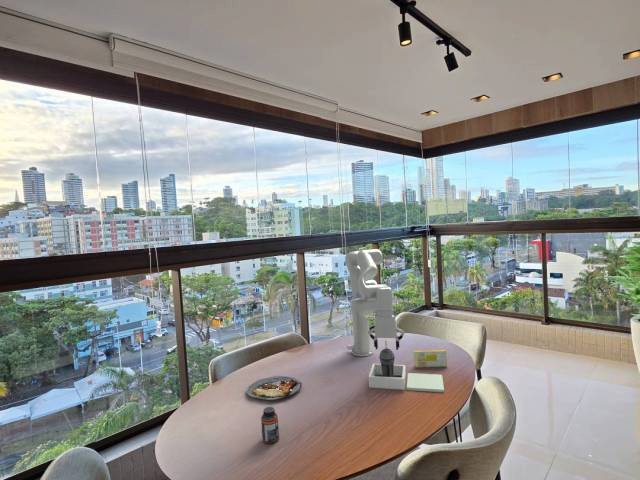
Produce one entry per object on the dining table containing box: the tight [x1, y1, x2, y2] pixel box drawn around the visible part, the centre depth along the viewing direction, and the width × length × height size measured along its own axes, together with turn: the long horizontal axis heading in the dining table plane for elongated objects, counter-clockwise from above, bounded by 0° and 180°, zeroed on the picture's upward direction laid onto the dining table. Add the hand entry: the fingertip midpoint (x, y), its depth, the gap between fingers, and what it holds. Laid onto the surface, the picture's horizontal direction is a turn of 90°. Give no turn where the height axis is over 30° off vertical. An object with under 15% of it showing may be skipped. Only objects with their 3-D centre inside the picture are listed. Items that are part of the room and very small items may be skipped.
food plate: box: [246, 375, 302, 401], centre depth 170 cm, size 25×23×4 cm
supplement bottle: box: [260, 406, 280, 445], centre depth 130 cm, size 6×6×11 cm
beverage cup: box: [378, 340, 395, 377], centre depth 173 cm, size 7×7×20 cm
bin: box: [368, 363, 407, 391], centre depth 173 cm, size 16×16×5 cm
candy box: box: [413, 349, 448, 368], centre depth 188 cm, size 16×2×8 cm, turn 84°
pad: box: [406, 372, 445, 393], centre depth 169 cm, size 16×16×1 cm
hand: (386, 348), depth 172 cm, fingers open, 9 cm apart
